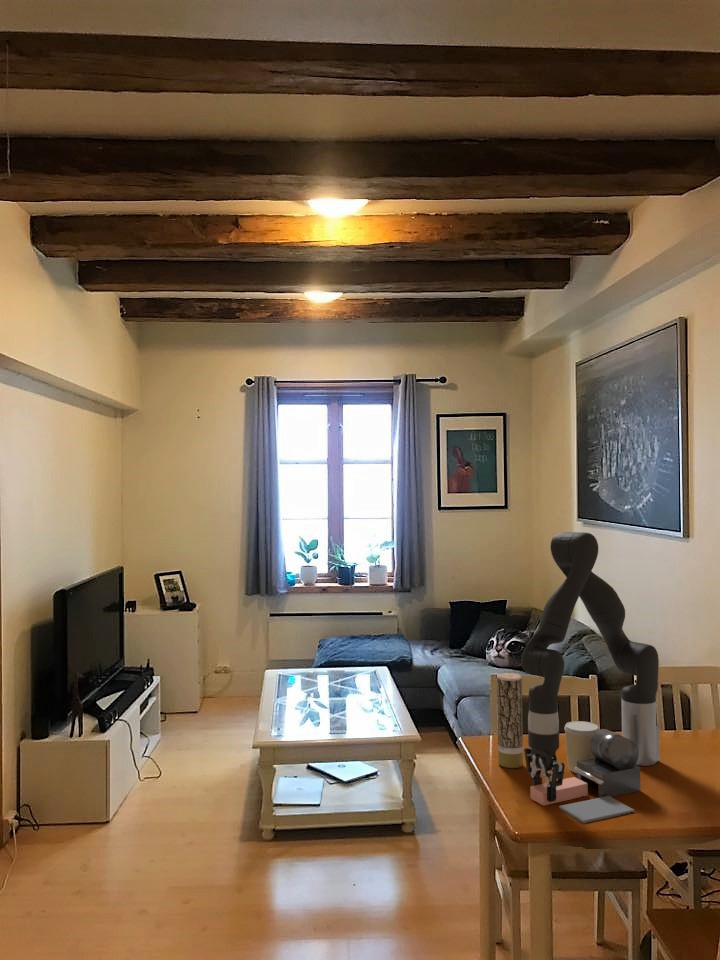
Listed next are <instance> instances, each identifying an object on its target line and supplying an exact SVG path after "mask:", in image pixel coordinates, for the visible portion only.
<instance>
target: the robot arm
mask: <svg viewBox="0 0 720 960" xmlns="http://www.w3.org/2000/svg"><path fill="white" fill-rule="evenodd" d="M550 552H551V556H552V558H553V561H554V562H555V564H556V566H557V567H558V568H559V570H560V571H561V572H562V574H563V575H564V576H565V580H564V581H563V582H562V584H561V585H560V586H559V587H558V588H557V589H556V590H555V591H554V593H553V594H551V596H550V597H549V598H548V600H547V601H546V603H545V605H544V608H543V610H542V613H541V616H540V619H539V623H538V626H537V629H536V630H535V632H534V633H533V635H532V636H531V638H530V640H529V641H528V642H527V644H526V646H525V648H523V651H522V654H521V659H520V661H521V662H520V664H521V667H522V670H523V671H524V672H525V673H526V674H528V675H531V676H536V677H540V678H544V680H543V684H534V685H532V686H530V688H529V690H528V716H527V737H528V738H527V739H528V741H527V743H528V745H527V746H528V747H526V748H523V753H524V758H525V764H526V765H525V768H526V772H527V773H528V774H529V773H530V776H531V778H532V786H535V785H539V784H543V778H545V783H547V801H549V802H552V801H555V800H556V786H561V785H562V782H563V779H564V775H565V774H564V773H565V766H566V764H565V763H564V762H559V760H558V759H557V755H556V752H557V751H558V749H559V748H560V719H559V708H558V700H559V699H558V695H559V691H560V686H561V681H562V678H563V675H564V672H565V661H564V657H563V654H562V653H561V652H560V651H558V650H556V649H551V648H549V646H550V645H551V646H552V645H554V644H561V643H562V642H564V640H565V638H566V636H567V632H568V628H569V625H570V621H571V619H572V615H573V611H574V609H575V607H576V604H577V602H578V599H579V598H580V600H581V601H582V603H583V605H584V607H585V609H586V611H587V613H588V615H589V616H590V618H591V619H592V620H593V622H594V624H595V625H596V627H597V629H598V631H599V633H600V635H601V636H602V638H603V640H604V642H605V644H606V647H607V649H608V651H609V653H610V656H611V657H612V661H613V663H614V665H615V666H616V668H617V669H618V670H619V672H622V673H624V674H627V675H632V676H636V680H635V684H632V685H627V686H624V687H622V689H621V693H620V694H621V698H620V702H621V736H623V737H625V738H628V739H630V740H632V741H634V742H635V743H636V745H637V747H638V750H639V757H638V760H637V763H636V766H644V767H645V766H646V767H647V766H653V765H656V764H657V763H658V762H660V727H659V726H657V692H658V688H659V668H660V667H659V663H660V661H659V654H658V650H657V649H656V647H655V646H653V645H652V644H648V643H642V642H637V641H632V640H630V639H629V638H628V637H627V635H626V633H625V631H624V630H623V629H624V628H623V625H624V622H625V620H626V619H625V618H626V609H625V606H624V604H623V602H622V600H621V598H620V597H619V594H618V593H617V591H616V590H615V589H614V588H613V586H611V585H610V584H609V583H608V582H606V581H605V580H604V579H602V578H601V577H600V576H599V575H597V574H595V572H593V571H592V570H593V568H594V567H595V565H596V561H597V559H598V555H599V543H598V540H597V538H596V537H595V535H593V534H592V533H590V532H581V531H580V532H577V531H575V532H572V531H571V532H568V531H567V532H566V531H565V532H559V533H555V535H554V536H553V537H552V539H551V540H550ZM550 771H551V772H550ZM542 776H543V777H542Z"/></svg>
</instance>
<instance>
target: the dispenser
mask: <svg viewBox="0 0 720 960" xmlns="http://www.w3.org/2000/svg"><path fill="white" fill-rule="evenodd" d="M590 750H591V753H592V755H593V756H594V757H595V758H593V759H587V760H582V761H577V767H574V771H575V772H577V774H576V778H577V779H579V780H582V781H584V782H586V783H588V786H591V785H595V784H597V789H598V790H597V794H598V798H601V797H605V796H610V797H612V798H613V797H616V796H620V795H621V796H622V795H627V794H630V793H635V792H641V766H640V765H636V763H637V760H638V757H639V750H638V747H637V745H636V743H635V742H634V741H632V740H630V739H628V738H625V737H623V736H622V734H618V733H615V732H614V731H612V730H609V729H605V728H601V729H599V730H598V731H597V732H596V733H595V734H594V735H593V737H592V739H591V742H590Z"/></svg>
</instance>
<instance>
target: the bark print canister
mask: <svg viewBox="0 0 720 960" xmlns="http://www.w3.org/2000/svg"><path fill="white" fill-rule="evenodd" d="M496 676H497V677H496V678H497V679H496V683H497V685H496V687H497V691H496V692H497V693H496V694H497V698H496V699H497V751H498V755H497V756H498V757H497V759H498V764H499V765H500V766H501V767H503V768H504V769H505V768H506V769H518V768H521V767H523V765H524V758H523V757H524V747H523V746H524V743H523V739H524V737H523V735H524V734H523V733H524V732H523V731H524V730H523V680H522V679H523V677H522V675H521V674H519V673H515V672H503V673H498V674H497V675H496Z"/></svg>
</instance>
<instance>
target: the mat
mask: <svg viewBox="0 0 720 960" xmlns="http://www.w3.org/2000/svg"><path fill="white" fill-rule="evenodd" d="M558 809H559V810H561V811H562V810H563V812H564V813H566V814H567V815H568V816H570V817H572V818H574V819H575V820H577V821H578V822H580V823H582V824H587V823H590V822H596V821H600V820H605V819H609V818H613V817H618V816H622V814H623V815H627V814H626V813H628V814H631V813H630V812H633V811H634V812H635V809H634V808H631V807H630V806H628V805H626V804H625V803H623V802H621V801H619V800H618V799H615V798H614V797H613V796H612V797H610V796H605V797H596V798H592V799H588V800H582V801H577V802H572V803H567V804H563V805H559V806H558ZM634 812H633V813H634Z"/></svg>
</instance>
